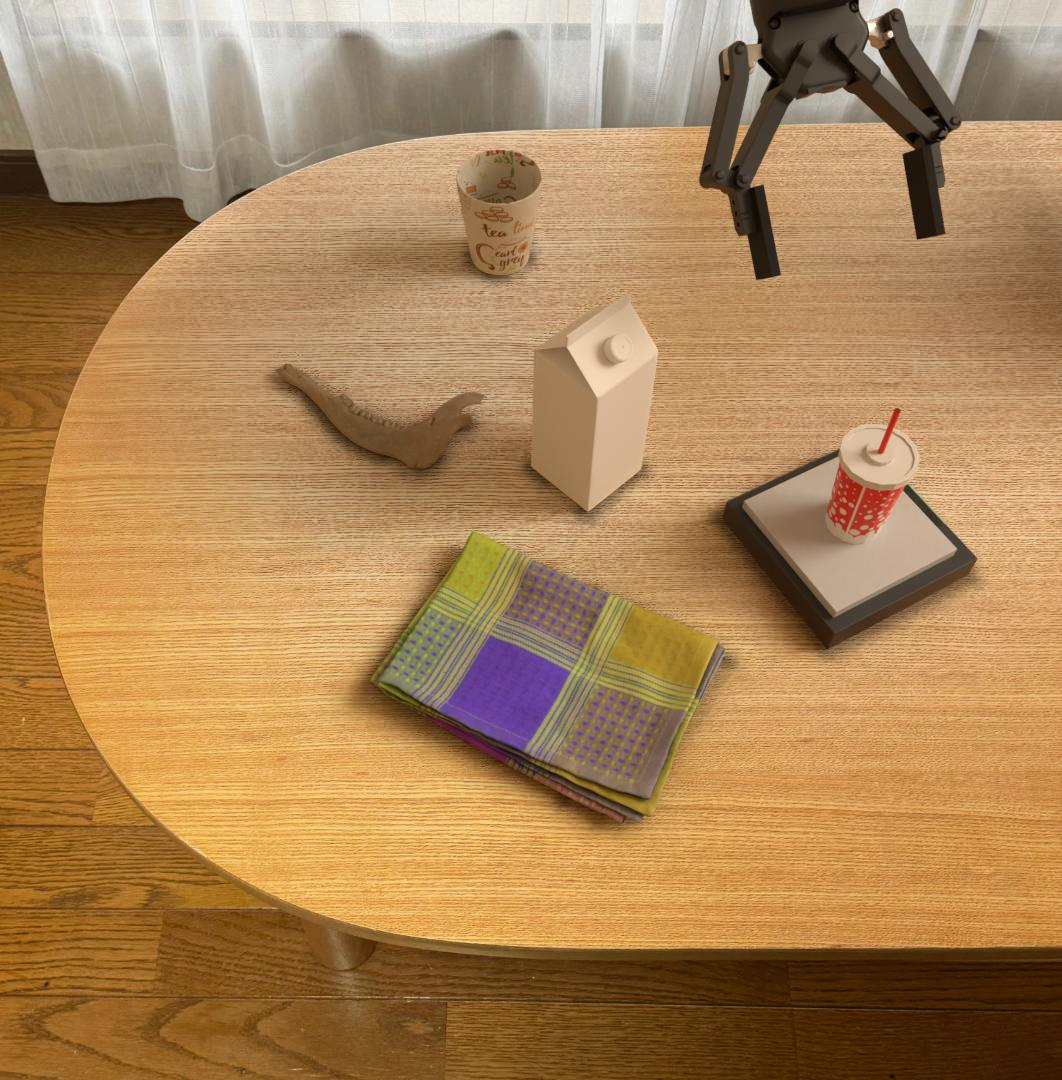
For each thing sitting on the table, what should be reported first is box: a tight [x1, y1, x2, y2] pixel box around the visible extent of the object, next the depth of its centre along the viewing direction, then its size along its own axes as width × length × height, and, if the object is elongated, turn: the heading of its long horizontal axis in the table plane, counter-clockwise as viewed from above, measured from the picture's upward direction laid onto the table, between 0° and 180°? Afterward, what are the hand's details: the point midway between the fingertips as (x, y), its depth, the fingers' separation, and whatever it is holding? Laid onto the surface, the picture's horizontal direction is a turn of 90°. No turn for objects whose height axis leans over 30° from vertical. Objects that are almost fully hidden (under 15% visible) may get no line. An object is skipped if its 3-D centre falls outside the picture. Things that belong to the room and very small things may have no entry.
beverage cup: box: [825, 407, 921, 544], centre depth 92 cm, size 6×6×14 cm
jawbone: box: [274, 363, 488, 470], centre depth 107 cm, size 9×20×2 cm, turn 77°
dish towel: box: [368, 530, 727, 825], centre depth 92 cm, size 18×24×3 cm
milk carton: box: [530, 291, 659, 512], centre depth 98 cm, size 7×7×19 cm
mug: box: [455, 149, 543, 276], centre depth 118 cm, size 8×13×10 cm, turn 166°
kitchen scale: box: [721, 448, 979, 650], centre depth 99 cm, size 15×15×4 cm
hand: (851, 257), depth 87 cm, fingers open, 13 cm apart
